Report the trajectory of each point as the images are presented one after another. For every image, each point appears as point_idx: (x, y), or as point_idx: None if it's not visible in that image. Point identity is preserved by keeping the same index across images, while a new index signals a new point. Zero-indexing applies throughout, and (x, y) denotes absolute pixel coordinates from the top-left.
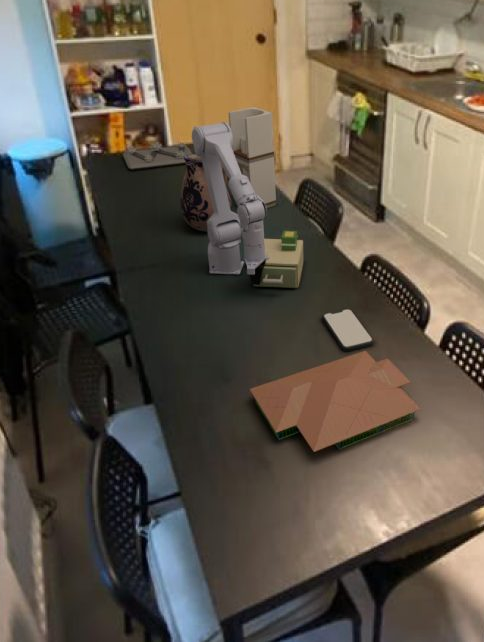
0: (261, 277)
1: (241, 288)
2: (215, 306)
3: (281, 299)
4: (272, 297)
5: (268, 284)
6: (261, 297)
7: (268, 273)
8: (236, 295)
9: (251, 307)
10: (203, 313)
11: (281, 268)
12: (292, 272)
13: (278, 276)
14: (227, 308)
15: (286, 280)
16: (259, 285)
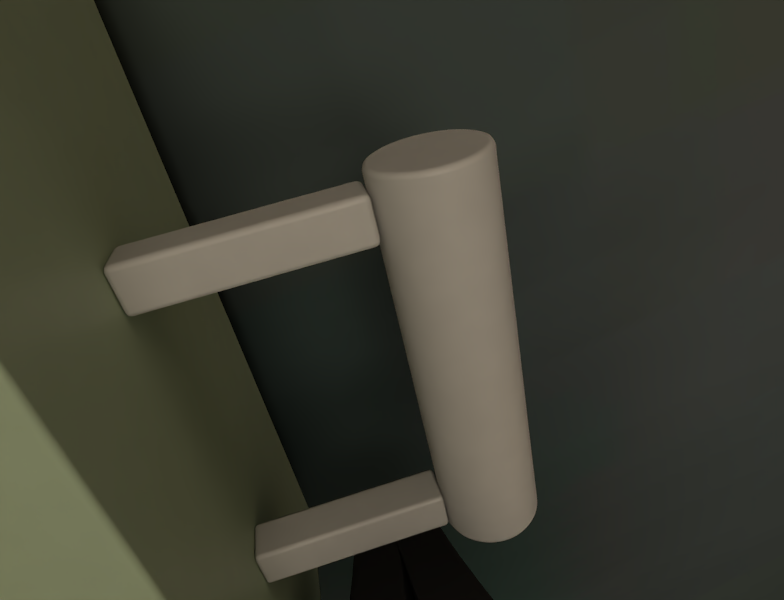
0: (378, 579)
1: None
2: (670, 577)
3: (452, 73)
4: None
5: (253, 401)
6: None
7: (249, 570)
8: (486, 548)
9: (675, 345)
10: (758, 585)
11: (21, 462)
12: None
13: (168, 354)
14: (696, 502)
15: (97, 136)
16: (295, 480)
